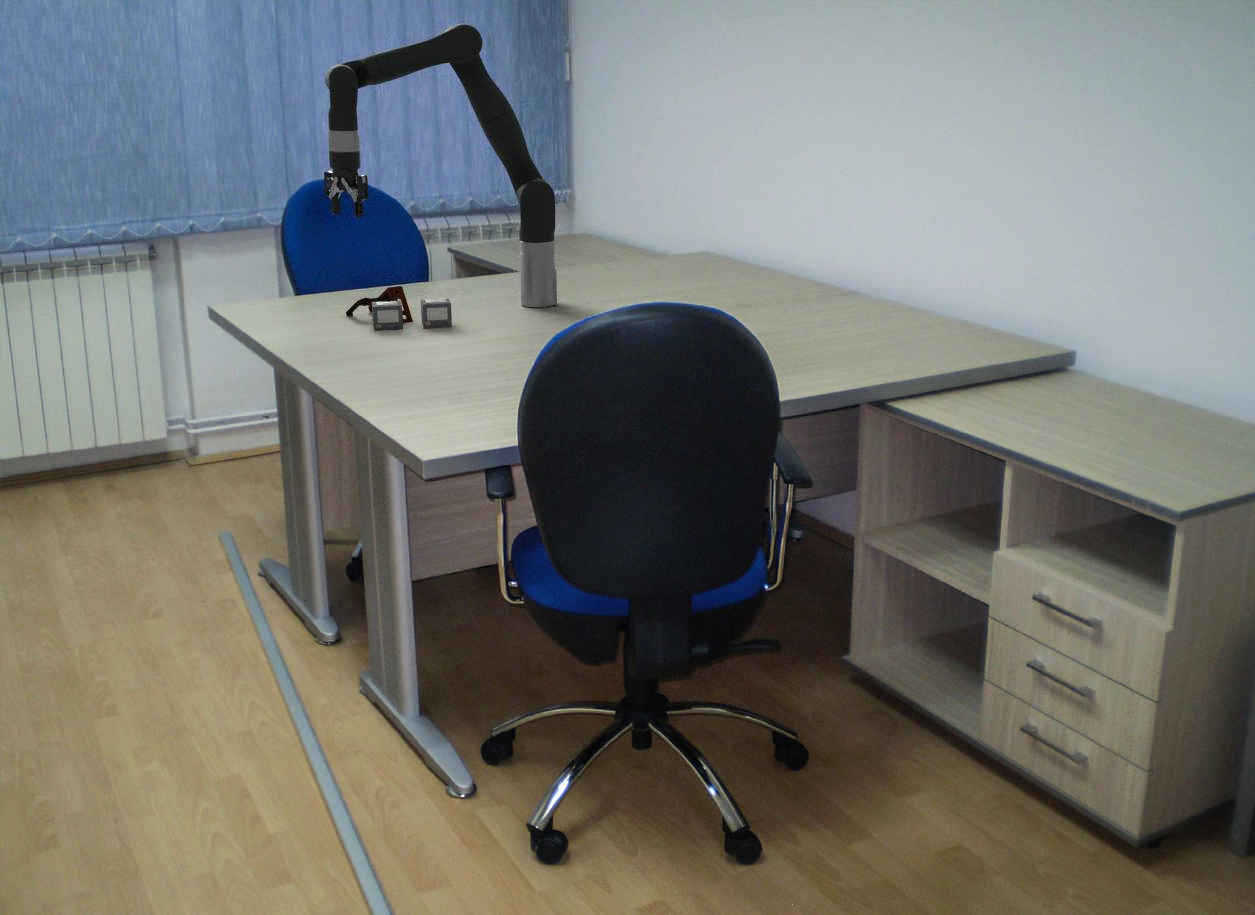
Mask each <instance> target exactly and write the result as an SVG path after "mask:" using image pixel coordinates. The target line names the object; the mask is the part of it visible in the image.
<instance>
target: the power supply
mask: <svg viewBox="0 0 1255 915" xmlns="http://www.w3.org/2000/svg"><path fill="white" fill-rule="evenodd" d="M402 311H403V306H402V302H401V300H397V301H385V302H372V313H371V314H372V315H371V316H372V326H373V331H374V332H378V331H379V332H381V331H383V332H384V331H398V330H399V331H401V330H402V331H403V330H404V323H403V318H404V317H403V316H404V315H403V316H402Z"/></svg>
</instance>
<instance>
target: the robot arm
mask: <svg viewBox="0 0 1255 915" xmlns="http://www.w3.org/2000/svg"><path fill="white" fill-rule="evenodd" d="M478 30H479V29H476V27H474V26H473V25H470V24H467V23H458V24H457V23H456V24H454V25H451V26H449V27H448V28H446V29H445V30H444V32H443V33H441V34H439V35H437V36H435V37H432V38H429V39H426V40H423V41H420V42H416V43H412V44H409V45H408V44H407V45H403V46H400V47H395V48H391V49H387V50H383V51H381V52H378V53H373V54H370V55H367V56H366V57H363V58H360V59H355V60H351V61H345V62H342V63H337V64H334V65H332V66H330V67H329V68H328V69H327V71H326V73H325V74H324V83H325V85H326V87H327V89H328V91H329V108H328V113H327V114H328V116H327V117H328V140H327V141H328V160H329V168H330V169H331V170H329V171H327V170H326V171H324V172H323V186H324V187H323V192H324V193H323V194H324V195H325V196H327V197H328V198H329V199H330V209H331V213H332V215H339V214H341V210H342V209H341V198H340V197H341V194H342V193H343V192H347V194H348V195H350V196H351V198H352V200H353V203H352V204H353V216H354V218H362V217H363V215H364V201H366V200H369V198H370V194H369V183H368V182H369V181H368V180H369V179H368V175H367V174H360V175H359V172H358V170H359V169H361V151H360V150H361V149H360V148H361V147H360V146H361V145H360V136H359V122H358V113H357V111H358V110H357V109H358V108H357V107H358V97H359V96H358V95H359V89H361V88H364V87H367V86H378V85H380V84H384V83H385V84H386V83H388V82H390V81H394V80H397V79H398V80H399V79H400V78H403V77H406V76H408V75H412V74H414V73H416V72H419V71H422V70H426V69H428V68H431V67H435V66H438V65H444V64H449V65H450V66H451V68H452V69H453V71H454V73H455V74H456V76H457V78H458V79H459V81H460V82H461V84H462V87H463V89H464V91H465V93H466V96H467V98H468V101H469V103H470V105H471V108H472V110H473V112H474V114H475V116H476V118H477V121H478V123H479V125H480V127H481V129H482V131H483V133H484V135H485V137H486V139H487V141H488V142H489V144H490V146H491V148H492V149H493V151H494V153H495V154H496V156H497V157H498V159H499V160H500V162H501V163H502V165H503V167H504V168H505V171H506V174H507V175H508V177H509V180H510V183H511V185H512V188H513V191H514V193H515V196H516V199H517V202H518V205H519V211H520V212H519V214H520V217H519V218H520V219H519V220H520V224H519V225H520V226H519V231H518V232H519V234H518V236H519V271H520V272H519V273H520V300H521V301H520V303H521V306H523V307H527V308H549V307H553V305H555V306H558V282H557V281H558V280H557V278H558V277H557V276H558V275H557V273H558V272H557V269H556V266H555V264H556V263H555V257H556V256H555V232H556V195H555V191H554V189H553V187H552V186H551V184H549V183H548V182H547V181H545V179H544V177H543V176H542V175H541V173H540V172H539V169H538V168H537V166H536V164H535V163H534V161H533V158H532V157H531V154H530V152H529V148H528V146H527V143H526V138H525V135H524V132H523V130H522V127H521V124H520V122H519V120H518V118H517V115H516V113H515V112H514V110H513V107H512V105H511V104H510V102H509V100H508V99H507V97H506V95H505V94H504V92H503V91H502V90H501V88H500V87H499V86H498V85H497V84H496V83H495V81H494V80H493V79H492V77H491V76H490V73H489V72H488V71H487V68H486V67H485V64H484V62H483V61H484V60H483V59H482V57H481V54H480V53H481V52H482V49H483V37H482V35H481V33H480V31H478ZM329 187H330V188H329ZM548 306H549V307H548Z"/></svg>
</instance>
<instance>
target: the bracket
mask: <svg viewBox="0 0 1255 915" xmlns="http://www.w3.org/2000/svg"><path fill="white" fill-rule="evenodd" d="M385 301H400V302H401V304H402V316H405V318H404V317H403V324H407V323H408V324H409V323H414V320H413V317H412V316H413V315H412V313H411V310H410V307H409V304H408V300H407V297H406V294H405V291H404V287H403V286H402V285H396V286H389V287H387V288H386V289H385V290H384V291H383V292H382V293H381V294H380V295H379V296H378V297H373V298H370V297H363V298H360V299H358V300H356V301H355V303H354V304H353V305H351V306H350V307H349V309H347V310H346V311H345V316H346V317H353V316H354V312H355V311H356V310H357V309H358V308H359V307H360V306H362V307H367V306H368V307H367V308H368V311H369V313H370V314H372V302H385Z"/></svg>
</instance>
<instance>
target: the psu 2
mask: <svg viewBox="0 0 1255 915" xmlns="http://www.w3.org/2000/svg"><path fill="white" fill-rule="evenodd" d="M420 315H421V317H420V318H421V325H422V327H423V329H436V328H437V329H439V328H442V329H443V328H453V318H452V302H451V300H450V299H449V298H431V299H429V298H428V299H420Z"/></svg>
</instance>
